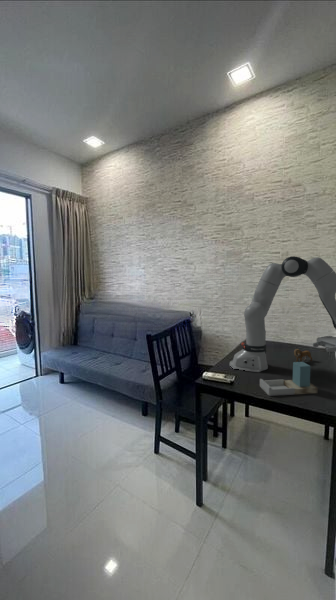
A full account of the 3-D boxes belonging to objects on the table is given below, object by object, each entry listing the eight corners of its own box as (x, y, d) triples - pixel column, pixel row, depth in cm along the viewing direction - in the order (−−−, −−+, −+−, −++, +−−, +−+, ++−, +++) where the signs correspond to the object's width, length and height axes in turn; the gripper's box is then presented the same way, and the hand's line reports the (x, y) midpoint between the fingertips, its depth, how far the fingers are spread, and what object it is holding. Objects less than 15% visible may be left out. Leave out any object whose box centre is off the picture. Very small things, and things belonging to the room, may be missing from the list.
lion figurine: (298, 364, 155) (299, 350, 154) (291, 362, 160) (291, 348, 159) (314, 360, 161) (315, 347, 160) (307, 358, 166) (307, 345, 165)
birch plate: (304, 383, 128) (304, 379, 128) (317, 393, 118) (317, 387, 118) (283, 385, 127) (283, 380, 127) (294, 394, 118) (295, 389, 117)
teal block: (302, 381, 126) (302, 361, 125) (309, 386, 120) (310, 366, 119) (292, 381, 125) (293, 362, 124) (299, 386, 120) (300, 366, 119)
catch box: (283, 385, 127) (283, 377, 127) (294, 394, 118) (294, 386, 117) (259, 386, 127) (259, 378, 126) (269, 395, 117) (269, 387, 116)
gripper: (331, 331, 132) (306, 337, 131) (363, 339, 111) (332, 346, 111) (333, 343, 132) (308, 348, 132) (365, 353, 111) (335, 359, 111)
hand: (319, 347), depth 121 cm, fingers open, 8 cm apart
